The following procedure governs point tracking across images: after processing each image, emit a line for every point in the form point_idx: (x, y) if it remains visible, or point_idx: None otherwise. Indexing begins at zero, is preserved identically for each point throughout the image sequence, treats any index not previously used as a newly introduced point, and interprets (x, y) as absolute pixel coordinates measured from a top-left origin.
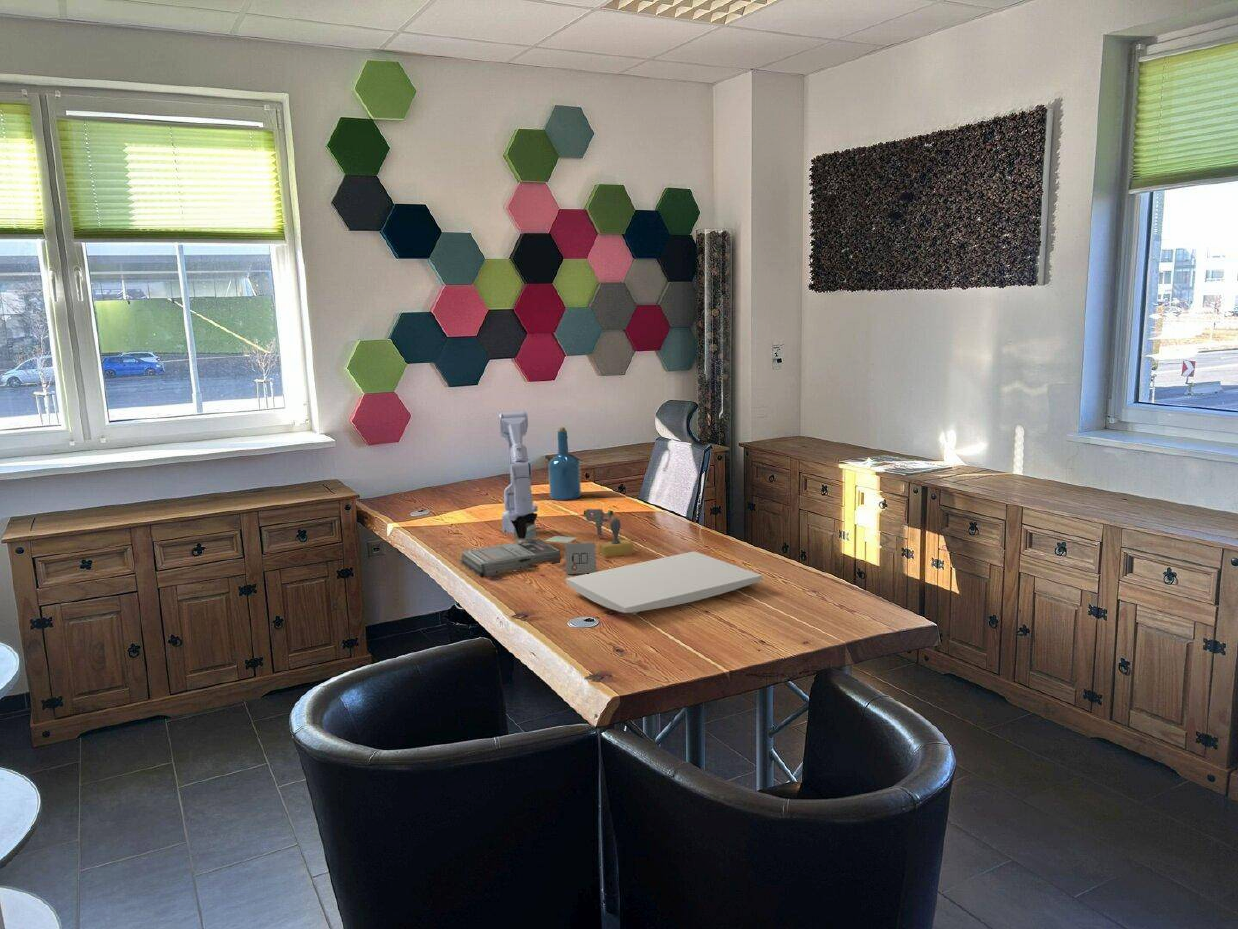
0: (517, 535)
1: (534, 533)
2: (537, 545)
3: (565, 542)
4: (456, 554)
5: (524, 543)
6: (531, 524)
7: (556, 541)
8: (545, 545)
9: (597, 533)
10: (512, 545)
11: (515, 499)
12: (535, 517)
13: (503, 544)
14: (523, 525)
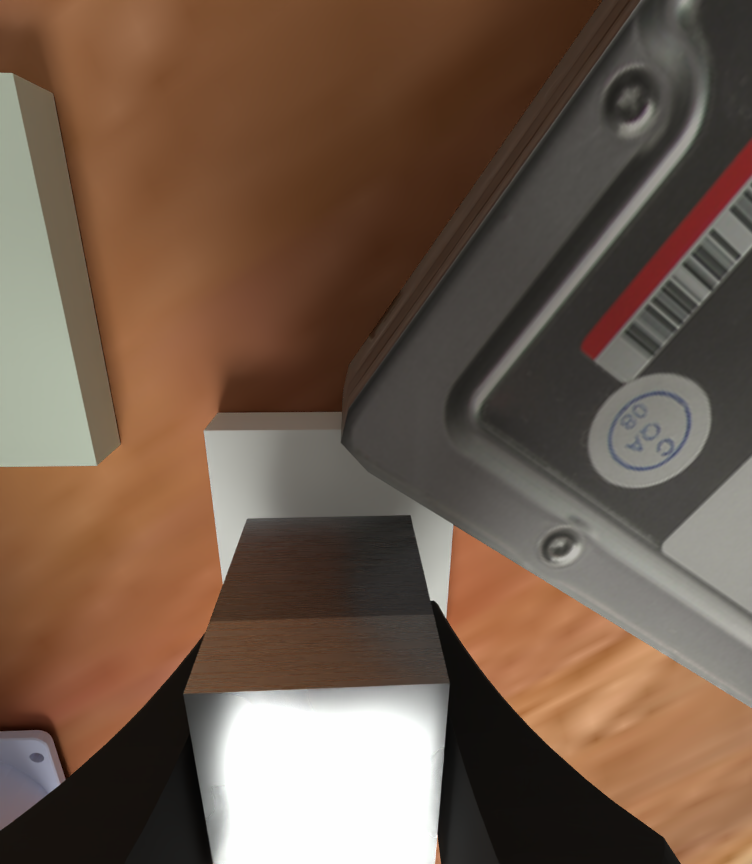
0: None
1: (268, 559)
2: (703, 227)
3: (5, 121)
4: None
5: (617, 477)
6: (293, 711)
7: (40, 295)
8: (692, 73)
9: None
10: (730, 560)
11: None
12: (31, 859)
13: (693, 666)
14: (549, 762)
